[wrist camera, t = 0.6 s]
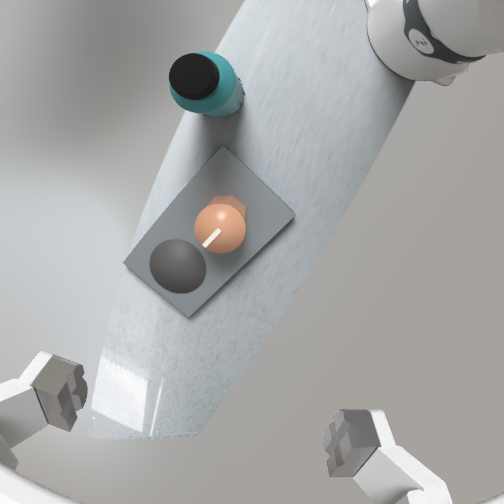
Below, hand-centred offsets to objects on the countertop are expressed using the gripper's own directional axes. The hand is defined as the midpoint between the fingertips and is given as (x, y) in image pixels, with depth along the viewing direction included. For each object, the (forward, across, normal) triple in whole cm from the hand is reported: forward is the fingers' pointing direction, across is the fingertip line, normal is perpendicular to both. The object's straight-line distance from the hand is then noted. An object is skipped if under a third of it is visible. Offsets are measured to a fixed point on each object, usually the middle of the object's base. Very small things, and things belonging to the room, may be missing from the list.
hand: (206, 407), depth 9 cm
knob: (+37, +2, +4) cm, 38 cm away
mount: (+39, +5, +9) cm, 41 cm away
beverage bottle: (+39, +6, -12) cm, 42 cm away
